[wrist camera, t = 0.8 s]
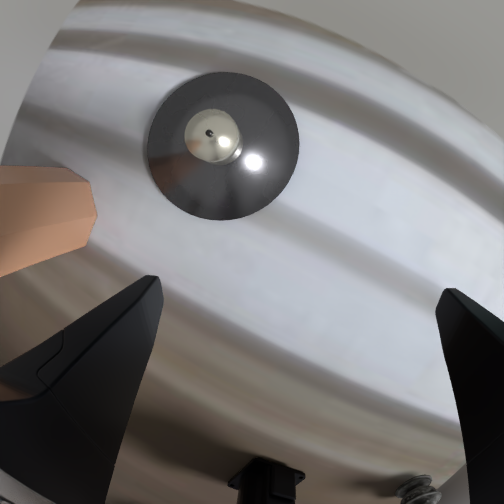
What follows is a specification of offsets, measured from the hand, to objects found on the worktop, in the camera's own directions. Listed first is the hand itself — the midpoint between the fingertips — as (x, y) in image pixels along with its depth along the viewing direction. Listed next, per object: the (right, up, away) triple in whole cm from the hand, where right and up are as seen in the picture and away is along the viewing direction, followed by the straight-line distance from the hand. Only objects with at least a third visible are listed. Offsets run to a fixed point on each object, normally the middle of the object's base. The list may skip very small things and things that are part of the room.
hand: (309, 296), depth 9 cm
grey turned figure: (+20, -30, +19) cm, 40 cm away
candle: (-4, +9, +13) cm, 16 cm away
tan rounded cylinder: (-18, +5, +14) cm, 24 cm away
